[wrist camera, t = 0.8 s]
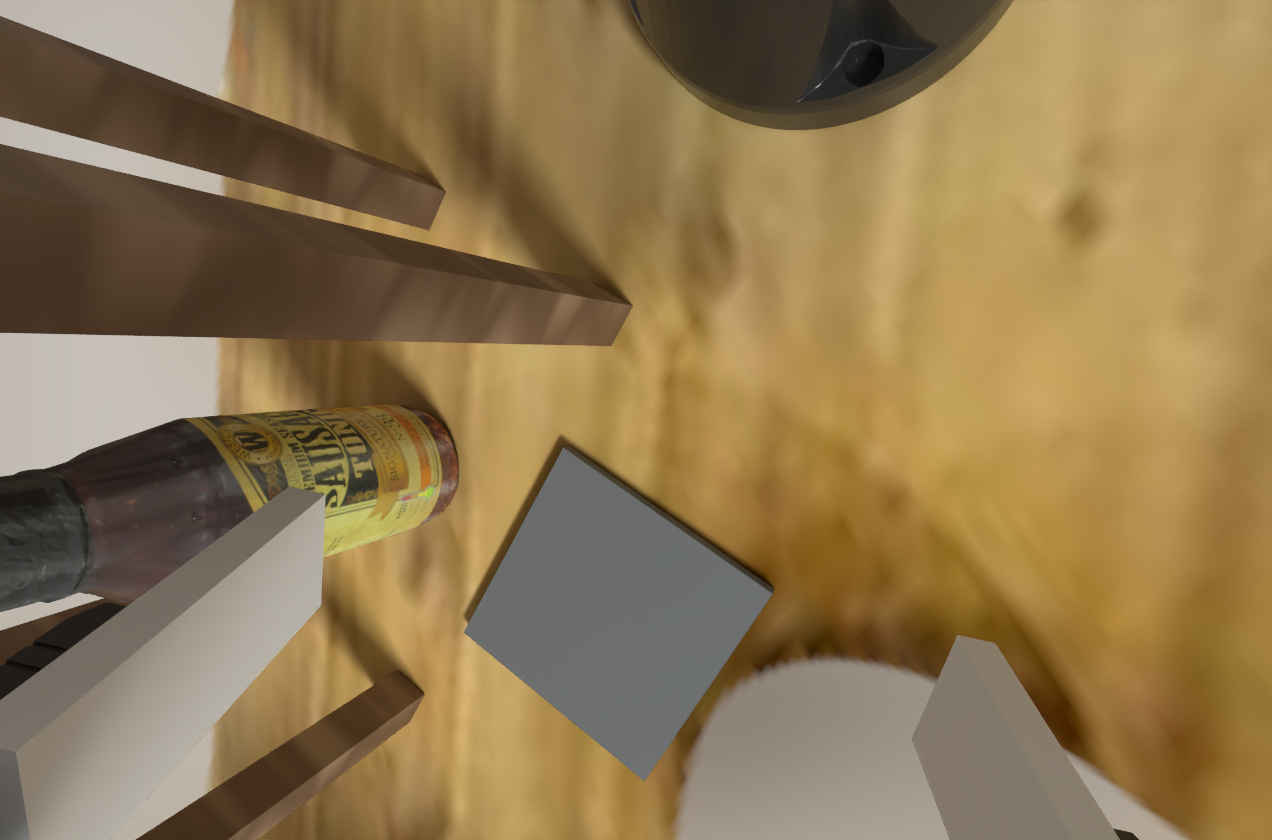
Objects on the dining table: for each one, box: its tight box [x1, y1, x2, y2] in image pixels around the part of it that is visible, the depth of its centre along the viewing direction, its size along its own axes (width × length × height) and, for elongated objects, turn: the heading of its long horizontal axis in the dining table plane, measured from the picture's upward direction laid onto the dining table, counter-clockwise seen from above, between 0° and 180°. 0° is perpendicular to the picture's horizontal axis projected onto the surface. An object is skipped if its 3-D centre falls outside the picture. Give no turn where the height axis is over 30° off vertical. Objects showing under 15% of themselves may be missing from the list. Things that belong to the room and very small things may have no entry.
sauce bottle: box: [0, 405, 459, 612], centre depth 25 cm, size 7×6×20 cm
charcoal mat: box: [464, 446, 775, 781], centre depth 31 cm, size 11×11×1 cm
